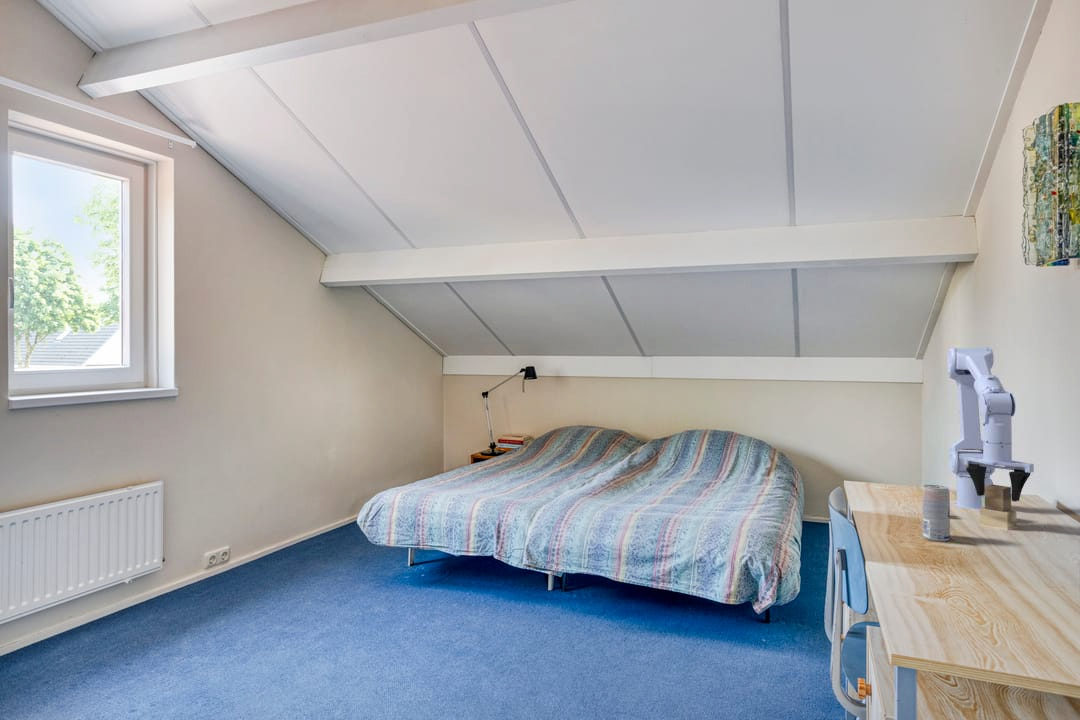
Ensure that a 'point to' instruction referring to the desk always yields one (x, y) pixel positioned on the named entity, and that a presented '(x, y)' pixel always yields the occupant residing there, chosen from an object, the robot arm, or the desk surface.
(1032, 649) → the desk surface
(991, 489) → the walnut block
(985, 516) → the base block
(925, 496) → the energy drink
